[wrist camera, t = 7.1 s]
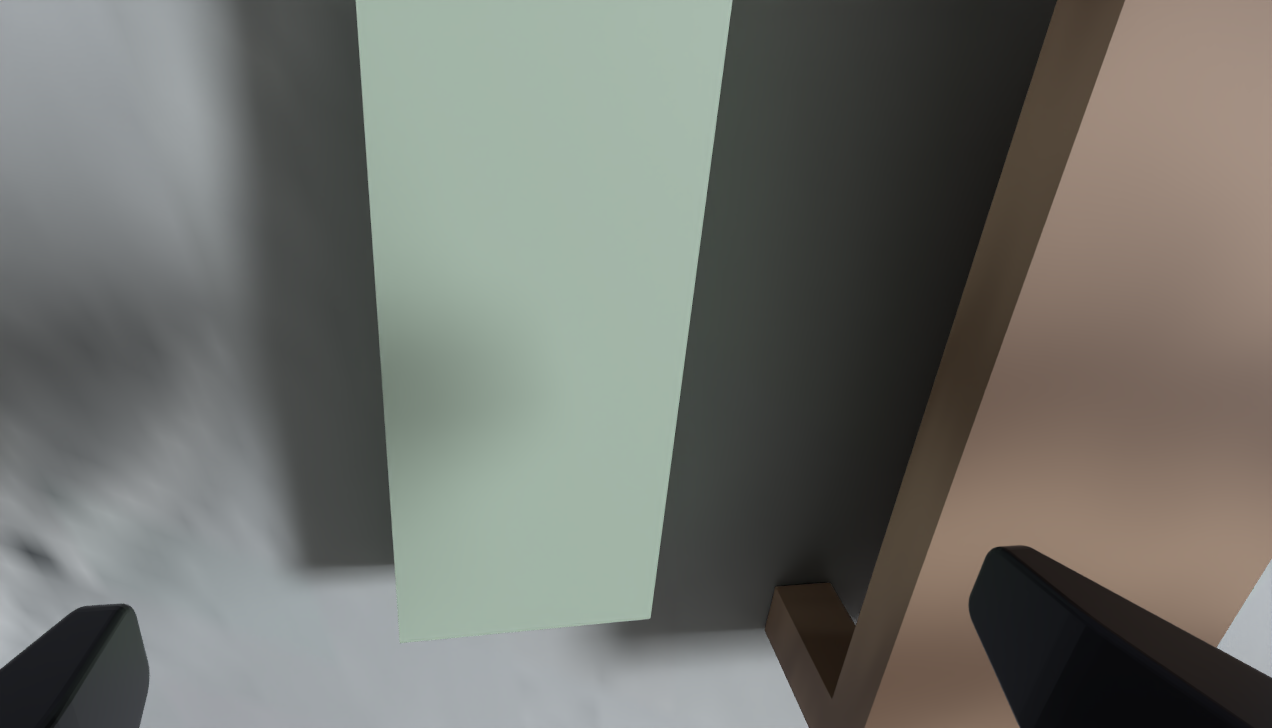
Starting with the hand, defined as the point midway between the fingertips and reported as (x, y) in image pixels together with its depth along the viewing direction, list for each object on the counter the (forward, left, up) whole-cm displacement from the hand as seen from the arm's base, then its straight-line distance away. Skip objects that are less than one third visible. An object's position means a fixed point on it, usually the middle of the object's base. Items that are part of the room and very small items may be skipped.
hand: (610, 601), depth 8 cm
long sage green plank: (0, 0, -8) cm, 8 cm away
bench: (0, -10, -8) cm, 13 cm away
